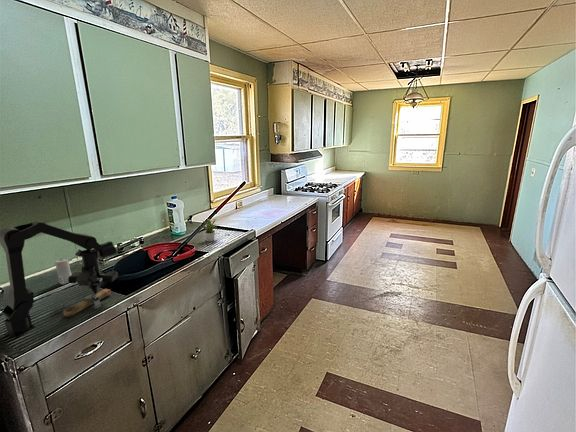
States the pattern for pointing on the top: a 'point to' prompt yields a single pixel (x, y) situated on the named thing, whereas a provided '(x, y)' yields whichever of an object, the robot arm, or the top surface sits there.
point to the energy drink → (63, 270)
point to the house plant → (209, 230)
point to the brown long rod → (85, 303)
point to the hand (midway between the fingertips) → (96, 294)
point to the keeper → (94, 301)
